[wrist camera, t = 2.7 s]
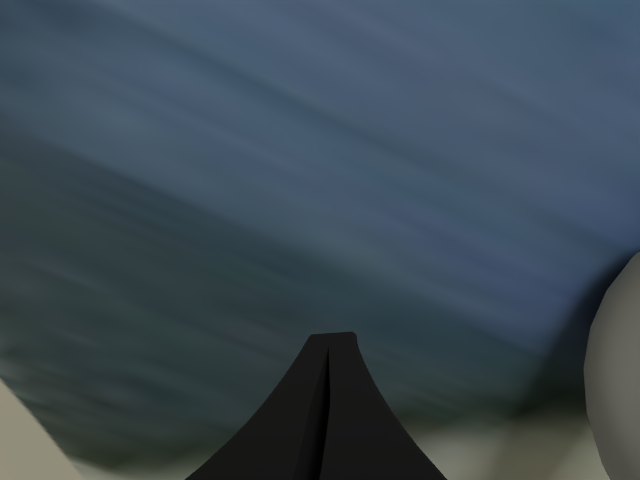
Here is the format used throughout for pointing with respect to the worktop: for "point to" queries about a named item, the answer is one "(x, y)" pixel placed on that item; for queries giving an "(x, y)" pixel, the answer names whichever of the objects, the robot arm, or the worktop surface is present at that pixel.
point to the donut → (616, 375)
